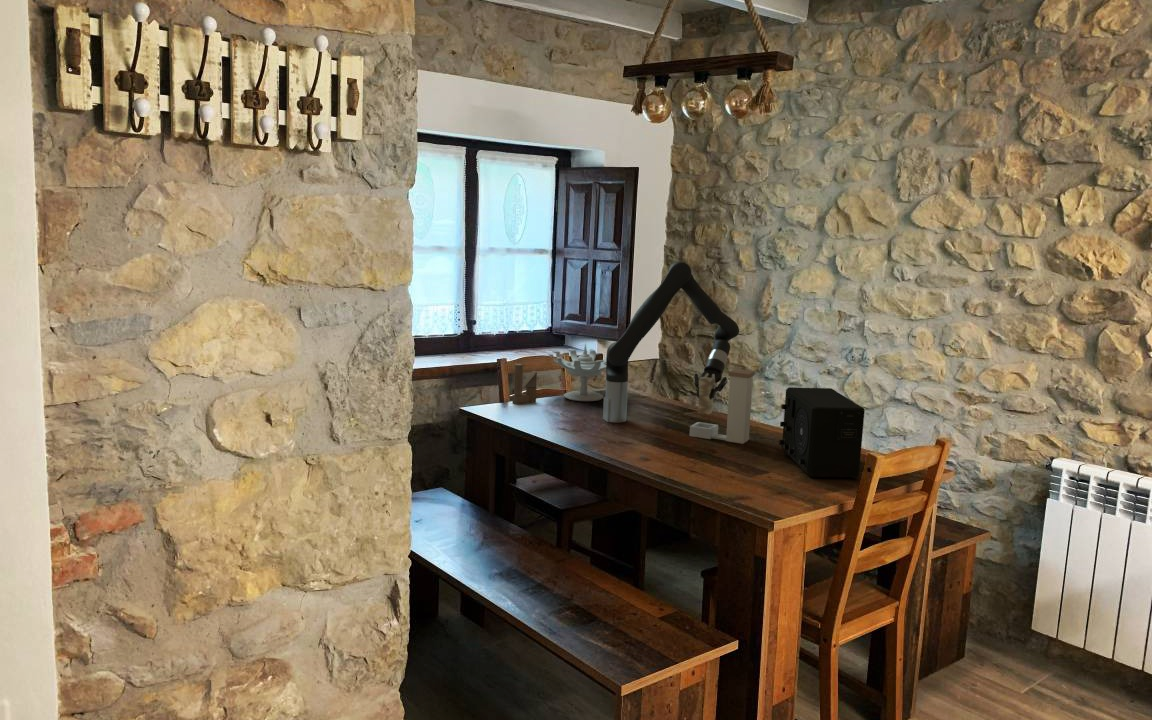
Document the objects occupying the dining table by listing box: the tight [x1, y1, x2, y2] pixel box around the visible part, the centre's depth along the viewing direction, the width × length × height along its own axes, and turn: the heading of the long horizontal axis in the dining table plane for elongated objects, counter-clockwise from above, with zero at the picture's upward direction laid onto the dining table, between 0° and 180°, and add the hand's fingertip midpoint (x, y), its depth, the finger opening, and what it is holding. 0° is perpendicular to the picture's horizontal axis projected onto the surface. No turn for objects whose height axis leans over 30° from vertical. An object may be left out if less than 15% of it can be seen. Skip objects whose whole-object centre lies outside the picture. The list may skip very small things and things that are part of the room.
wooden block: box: [512, 363, 538, 405], centre depth 404 cm, size 4×11×18 cm, turn 126°
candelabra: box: [547, 341, 606, 402], centre depth 417 cm, size 34×35×27 cm
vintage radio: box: [778, 386, 865, 479], centre depth 317 cm, size 38×20×25 cm, turn 2°
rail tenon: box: [697, 377, 714, 415], centre depth 354 cm, size 4×4×14 cm
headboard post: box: [689, 368, 756, 445], centre depth 351 cm, size 22×9×28 cm, turn 62°
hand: (704, 397), depth 352 cm, fingers closed on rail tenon, 4 cm apart
